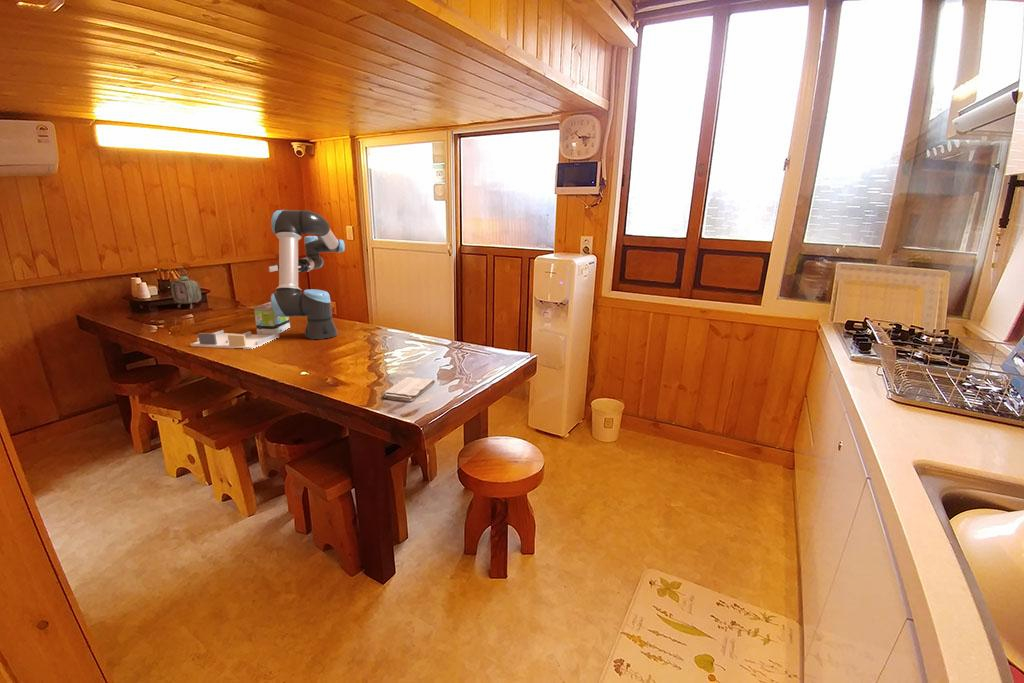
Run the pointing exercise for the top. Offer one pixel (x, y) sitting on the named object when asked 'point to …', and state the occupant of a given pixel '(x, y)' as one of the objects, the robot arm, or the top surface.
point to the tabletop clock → (185, 290)
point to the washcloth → (408, 389)
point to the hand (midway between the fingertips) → (281, 269)
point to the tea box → (269, 320)
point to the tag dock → (232, 340)
